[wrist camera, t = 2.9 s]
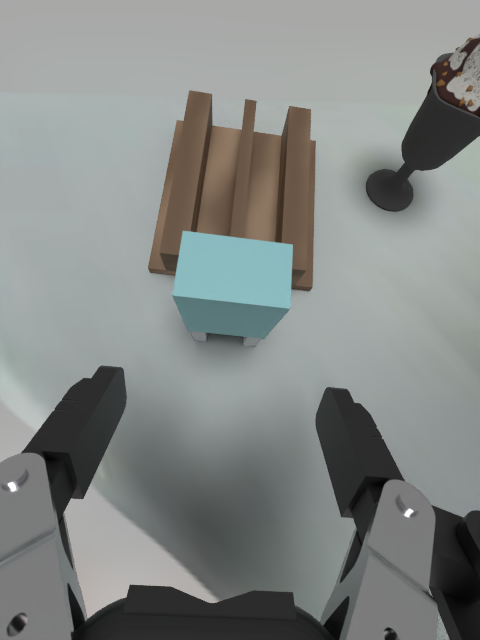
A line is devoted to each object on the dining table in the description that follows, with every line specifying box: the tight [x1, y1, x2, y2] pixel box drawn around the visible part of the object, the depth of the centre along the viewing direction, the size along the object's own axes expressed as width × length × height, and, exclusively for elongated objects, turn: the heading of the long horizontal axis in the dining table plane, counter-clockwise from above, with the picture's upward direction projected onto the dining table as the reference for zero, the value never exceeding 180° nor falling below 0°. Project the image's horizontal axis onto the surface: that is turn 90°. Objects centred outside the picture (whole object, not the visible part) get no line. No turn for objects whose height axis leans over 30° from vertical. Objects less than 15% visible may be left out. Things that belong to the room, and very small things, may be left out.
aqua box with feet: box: [172, 231, 293, 347], centre depth 18 cm, size 5×3×11 cm, turn 85°
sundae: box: [366, 34, 480, 211], centre depth 21 cm, size 7×7×15 cm
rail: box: [148, 91, 316, 291], centre depth 24 cm, size 14×16×4 cm
